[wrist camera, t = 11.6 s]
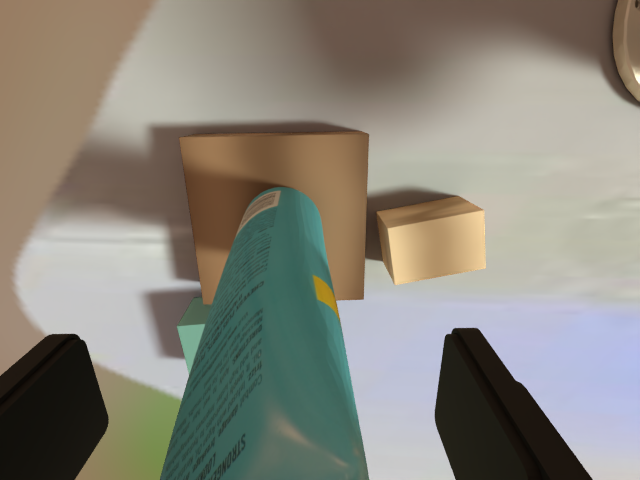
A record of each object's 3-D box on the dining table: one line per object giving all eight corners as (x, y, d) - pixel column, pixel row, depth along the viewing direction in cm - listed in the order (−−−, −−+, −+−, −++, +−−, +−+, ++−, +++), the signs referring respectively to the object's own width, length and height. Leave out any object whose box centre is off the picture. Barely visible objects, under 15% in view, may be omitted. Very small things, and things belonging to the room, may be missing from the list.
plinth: (361, 131, 24) (368, 134, 21) (357, 279, 27) (363, 299, 25) (194, 134, 23) (179, 137, 20) (214, 284, 27) (203, 304, 24)
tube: (293, 284, 24) (252, 819, 6) (225, 256, 23) (-65, 783, 5) (344, 187, 22) (529, 564, 4) (272, 151, 21) (53, 418, 3)
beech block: (457, 195, 26) (484, 210, 22) (460, 246, 27) (485, 268, 23) (375, 211, 26) (387, 228, 22) (382, 260, 27) (394, 285, 23)
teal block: (194, 296, 28) (176, 326, 24) (245, 292, 28) (236, 321, 24) (208, 359, 30) (194, 396, 26) (256, 355, 30) (249, 391, 26)
